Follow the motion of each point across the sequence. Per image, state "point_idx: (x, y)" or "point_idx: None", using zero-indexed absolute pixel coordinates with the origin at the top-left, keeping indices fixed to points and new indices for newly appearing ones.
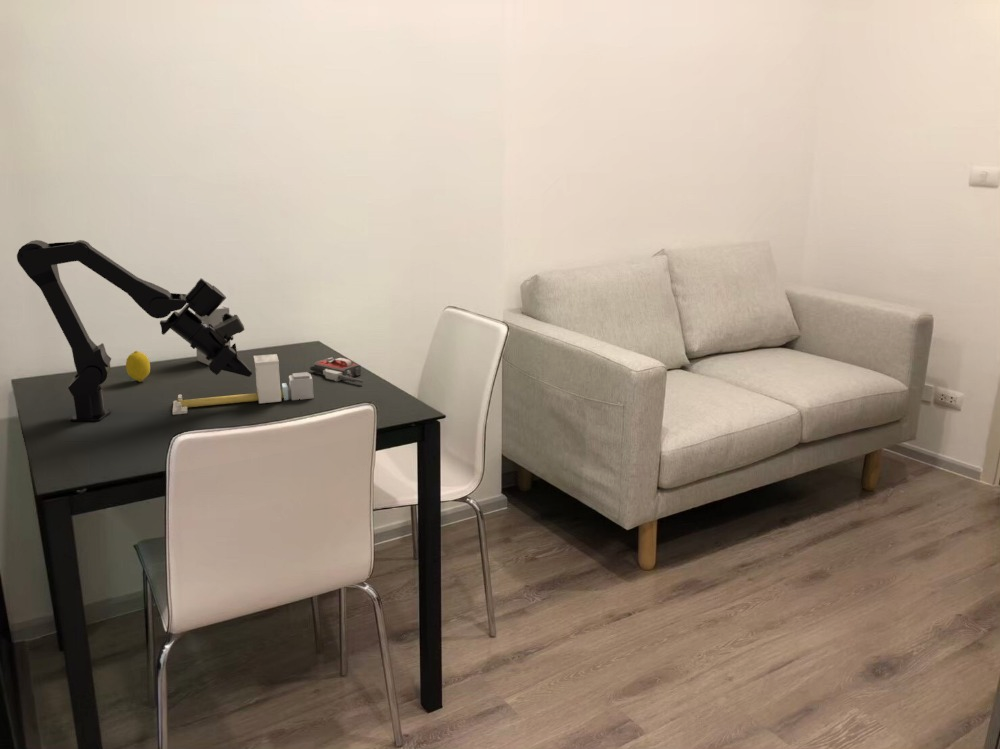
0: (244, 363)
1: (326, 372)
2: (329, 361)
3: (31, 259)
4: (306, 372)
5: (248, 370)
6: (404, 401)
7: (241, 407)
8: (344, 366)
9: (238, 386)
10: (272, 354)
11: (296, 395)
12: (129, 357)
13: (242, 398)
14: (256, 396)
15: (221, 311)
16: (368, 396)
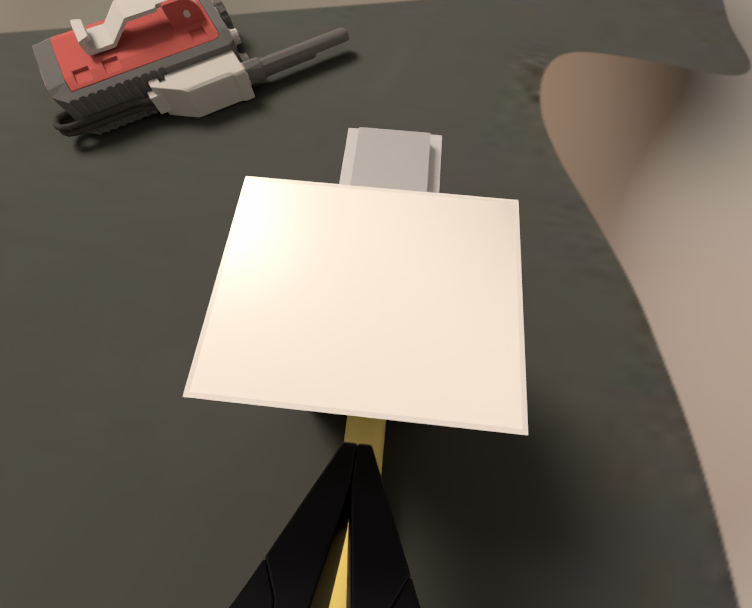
0: (299, 528)
1: (191, 93)
2: (102, 45)
3: None
4: (361, 133)
5: (382, 483)
6: (555, 3)
7: (441, 508)
8: (197, 23)
9: (70, 464)
10: (243, 209)
11: None
12: None
13: None
14: (383, 419)
15: None
16: (472, 60)
